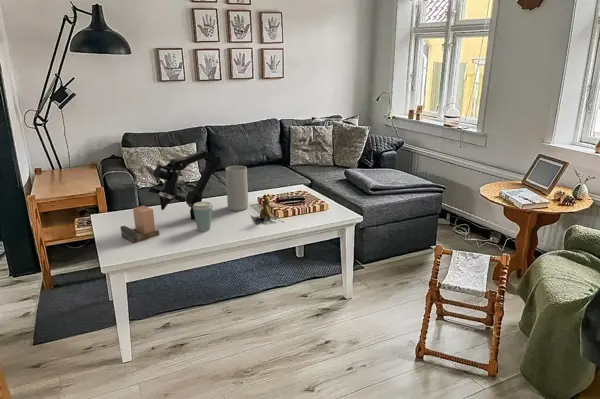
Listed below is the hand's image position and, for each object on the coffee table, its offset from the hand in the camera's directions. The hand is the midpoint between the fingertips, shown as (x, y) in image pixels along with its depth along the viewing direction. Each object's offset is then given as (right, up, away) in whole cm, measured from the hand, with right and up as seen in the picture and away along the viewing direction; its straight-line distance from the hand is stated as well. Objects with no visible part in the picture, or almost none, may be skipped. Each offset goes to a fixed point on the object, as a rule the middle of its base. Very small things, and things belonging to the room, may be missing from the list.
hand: (162, 209), depth 240 cm
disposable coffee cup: (+22, -11, +2) cm, 25 cm away
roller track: (-9, -13, -7) cm, 18 cm away
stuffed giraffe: (+55, -6, +17) cm, 58 cm away
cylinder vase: (+36, 0, +35) cm, 50 cm away
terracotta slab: (-7, -11, -5) cm, 14 cm away
